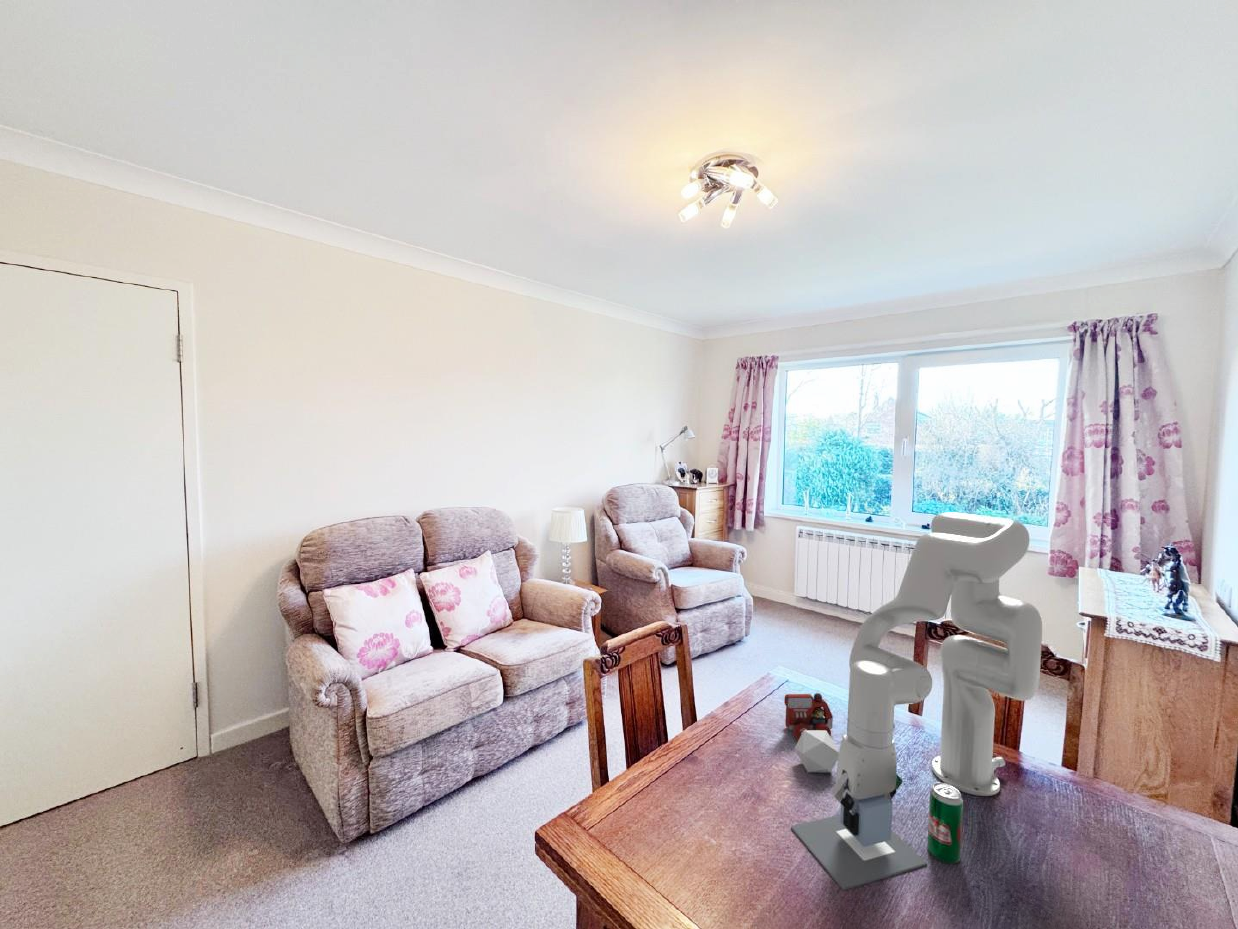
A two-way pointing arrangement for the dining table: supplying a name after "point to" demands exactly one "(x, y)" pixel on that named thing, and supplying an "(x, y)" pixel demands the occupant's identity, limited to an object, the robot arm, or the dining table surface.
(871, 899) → the dining table surface
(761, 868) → the dining table surface
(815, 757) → the die
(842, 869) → the mat
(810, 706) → the toy fire truck
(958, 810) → the soda can
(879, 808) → the blue block
